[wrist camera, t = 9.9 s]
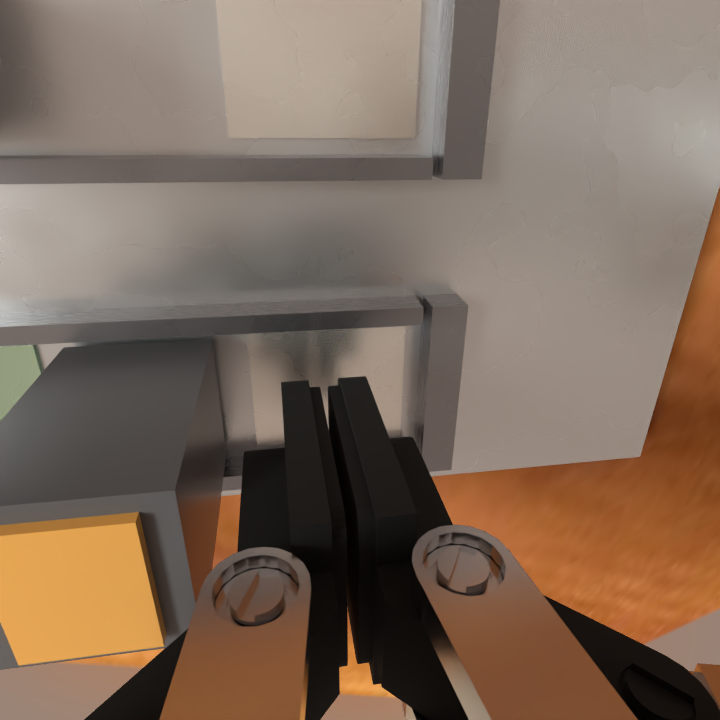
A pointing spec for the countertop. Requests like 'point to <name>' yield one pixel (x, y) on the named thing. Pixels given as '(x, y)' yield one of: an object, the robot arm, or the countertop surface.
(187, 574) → the handle
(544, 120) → the panel
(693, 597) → the countertop surface
